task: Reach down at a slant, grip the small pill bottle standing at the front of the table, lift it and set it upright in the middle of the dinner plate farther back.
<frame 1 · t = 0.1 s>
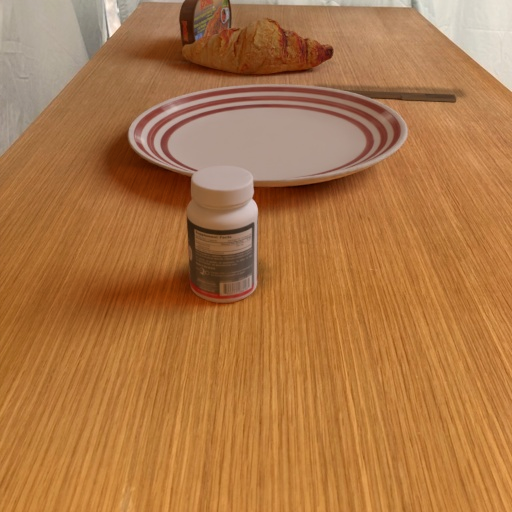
croissant: (256, 68, 98), on the table
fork: (392, 97, 86), on the table
pill bottle: (223, 288, 49), on the table
tin: (207, 51, 106), on the table
dinner plate: (266, 153, 70), on the table
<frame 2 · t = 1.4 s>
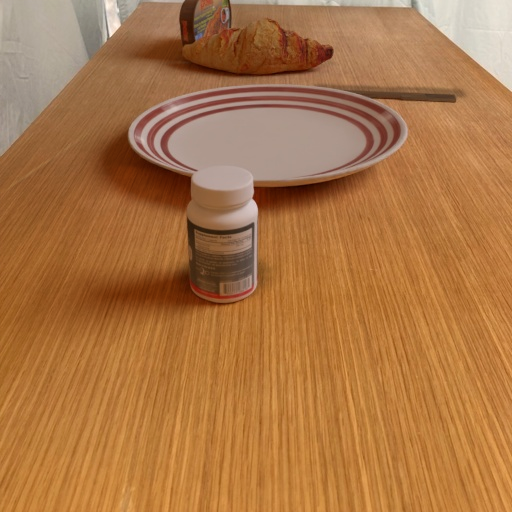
nothing on the table moved.
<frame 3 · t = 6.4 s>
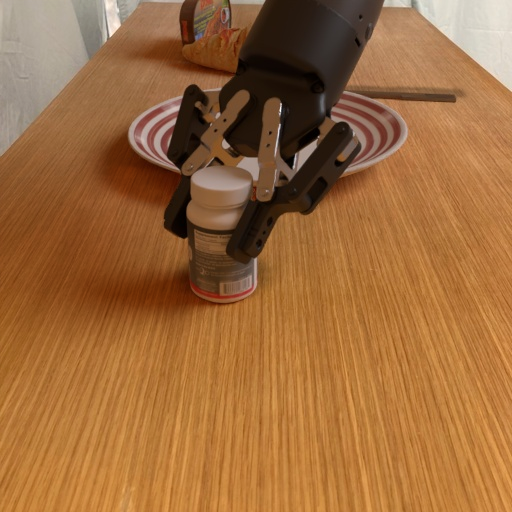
hand: (204, 245, 45), 4 cm above the table, tool tilted 45°, fingers closed on pill bottle, 4 cm apart
pill bottle: (223, 288, 49), on the table, touching gripper
everything else where it was.
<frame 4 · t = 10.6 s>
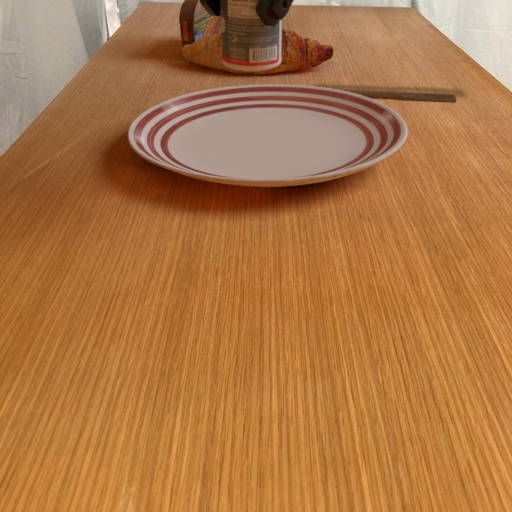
hand: (236, 13, 51), 16 cm above the table, tool tilted 45°, fingers closed on pill bottle, 4 cm apart
pill bottle: (251, 66, 55), point 12 cm above the table, touching gripper
everything else where it was.
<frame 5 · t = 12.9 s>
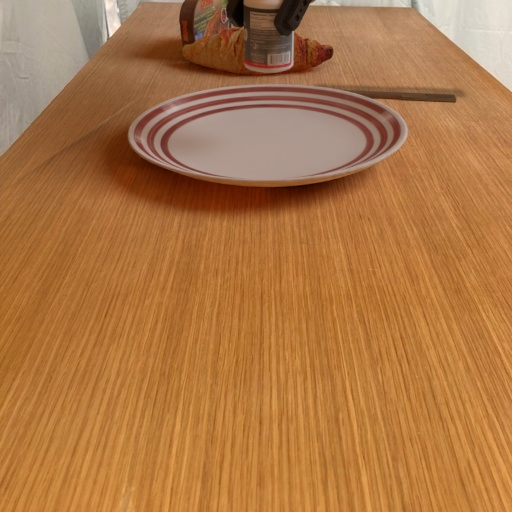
hand: (257, 25, 63), 13 cm above the table, tool tilted 45°, fingers closed on pill bottle, 4 cm apart
pill bottle: (268, 68, 66), point 8 cm above the table, touching gripper
everything else where it was.
when the fingers open (7 cm above the table, at t = 14.8 s): pill bottle stays where it is, resting on dinner plate.
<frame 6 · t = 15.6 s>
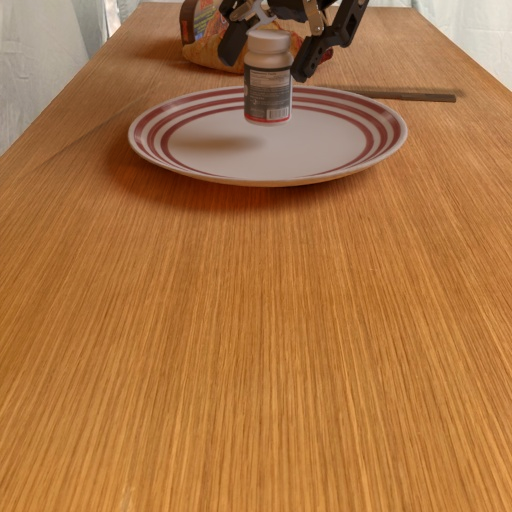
hand: (259, 69, 65), 9 cm above the table, tool tilted 45°, fingers open, 8 cm apart
pill bottle: (267, 121, 69), point 3 cm above the table, touching dinner plate
dinner plate: (266, 153, 70), on the table, touching pill bottle
everything else where it was.
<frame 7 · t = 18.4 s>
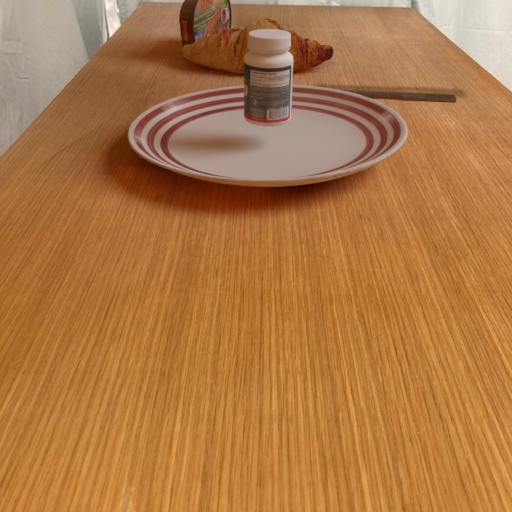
nothing on the table moved.
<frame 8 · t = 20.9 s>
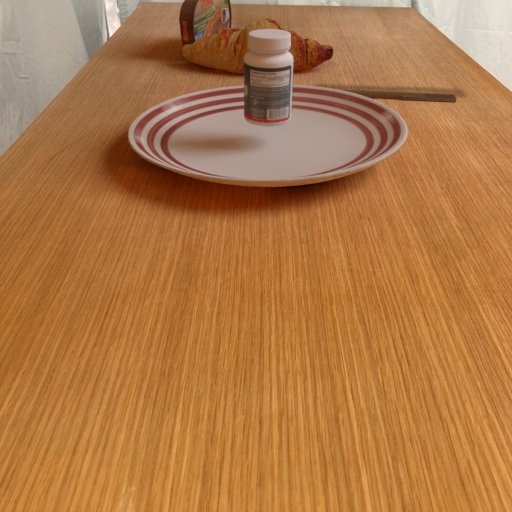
nothing on the table moved.
at the end: pill bottle inside the target area in the dinner plate (0.2 cm from its centre), point 3.3 cm above the dinner plate's base; pill bottle tilted 0°; the gripper is holding nothing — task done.
